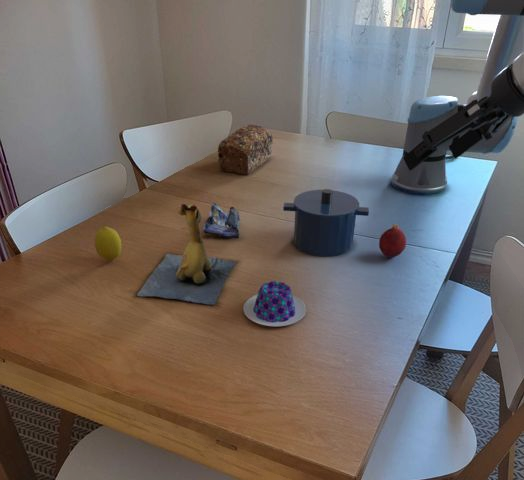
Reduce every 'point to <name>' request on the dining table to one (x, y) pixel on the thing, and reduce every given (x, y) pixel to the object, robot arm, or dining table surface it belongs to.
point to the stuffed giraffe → (189, 269)
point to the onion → (392, 242)
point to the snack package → (223, 222)
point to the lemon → (108, 243)
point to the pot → (324, 232)
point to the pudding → (274, 305)
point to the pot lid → (326, 203)
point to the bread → (245, 149)
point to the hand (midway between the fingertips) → (430, 158)
